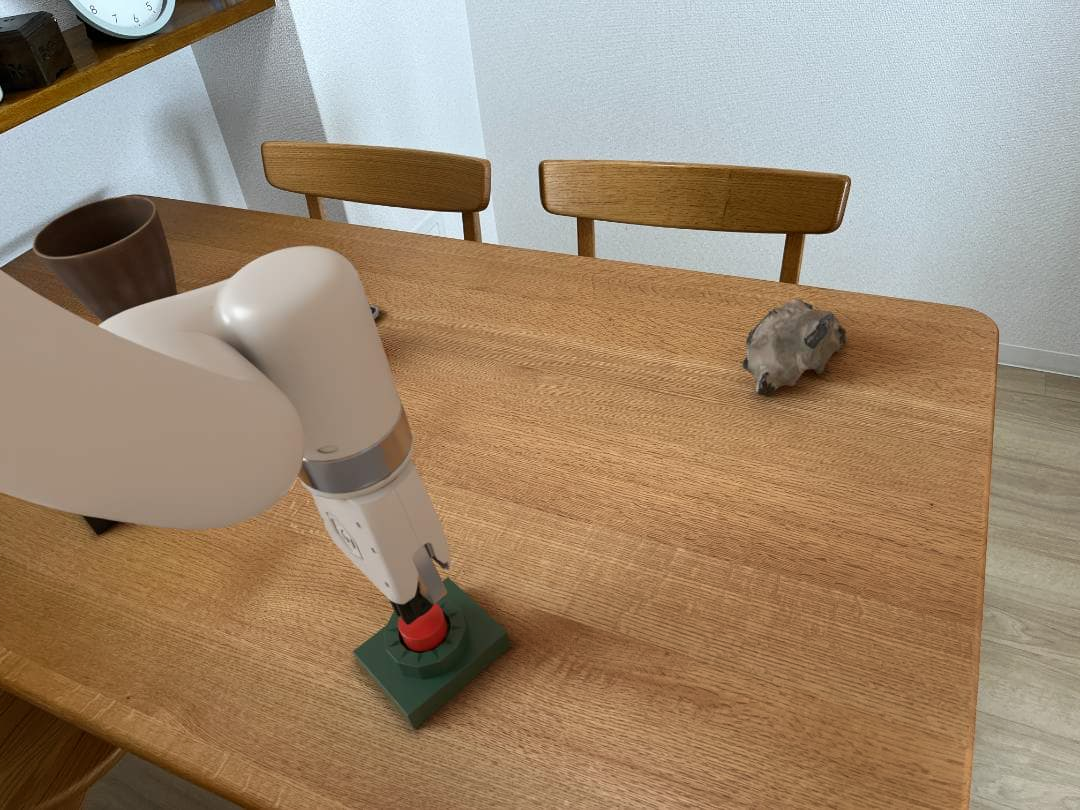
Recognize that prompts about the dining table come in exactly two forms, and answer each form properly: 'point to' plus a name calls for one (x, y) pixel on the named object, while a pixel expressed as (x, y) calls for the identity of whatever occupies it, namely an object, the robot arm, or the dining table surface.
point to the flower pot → (110, 254)
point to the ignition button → (424, 630)
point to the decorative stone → (791, 345)
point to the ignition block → (433, 657)
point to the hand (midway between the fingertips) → (417, 606)
